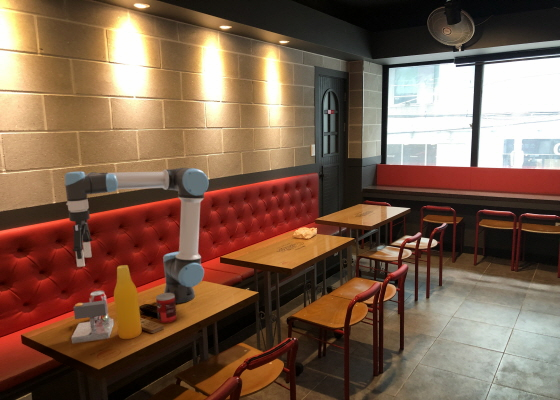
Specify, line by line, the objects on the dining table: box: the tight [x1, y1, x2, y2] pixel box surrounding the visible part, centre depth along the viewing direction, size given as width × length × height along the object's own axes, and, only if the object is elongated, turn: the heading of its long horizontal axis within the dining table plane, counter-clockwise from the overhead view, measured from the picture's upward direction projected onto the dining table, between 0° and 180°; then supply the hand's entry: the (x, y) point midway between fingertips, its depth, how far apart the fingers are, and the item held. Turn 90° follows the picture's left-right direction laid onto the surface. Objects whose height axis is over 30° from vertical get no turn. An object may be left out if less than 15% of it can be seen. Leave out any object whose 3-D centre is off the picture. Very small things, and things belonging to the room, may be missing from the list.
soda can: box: [89, 290, 109, 321], centre depth 206 cm, size 7×7×12 cm
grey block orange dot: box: [73, 300, 108, 328], centre depth 190 cm, size 12×4×11 cm, turn 102°
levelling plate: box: [71, 313, 115, 344], centre depth 191 cm, size 14×14×5 cm
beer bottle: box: [113, 264, 143, 340], centre depth 186 cm, size 9×9×29 cm
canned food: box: [155, 292, 178, 324], centre depth 201 cm, size 8×8×11 cm
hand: (84, 261), depth 187 cm, fingers open, 13 cm apart
